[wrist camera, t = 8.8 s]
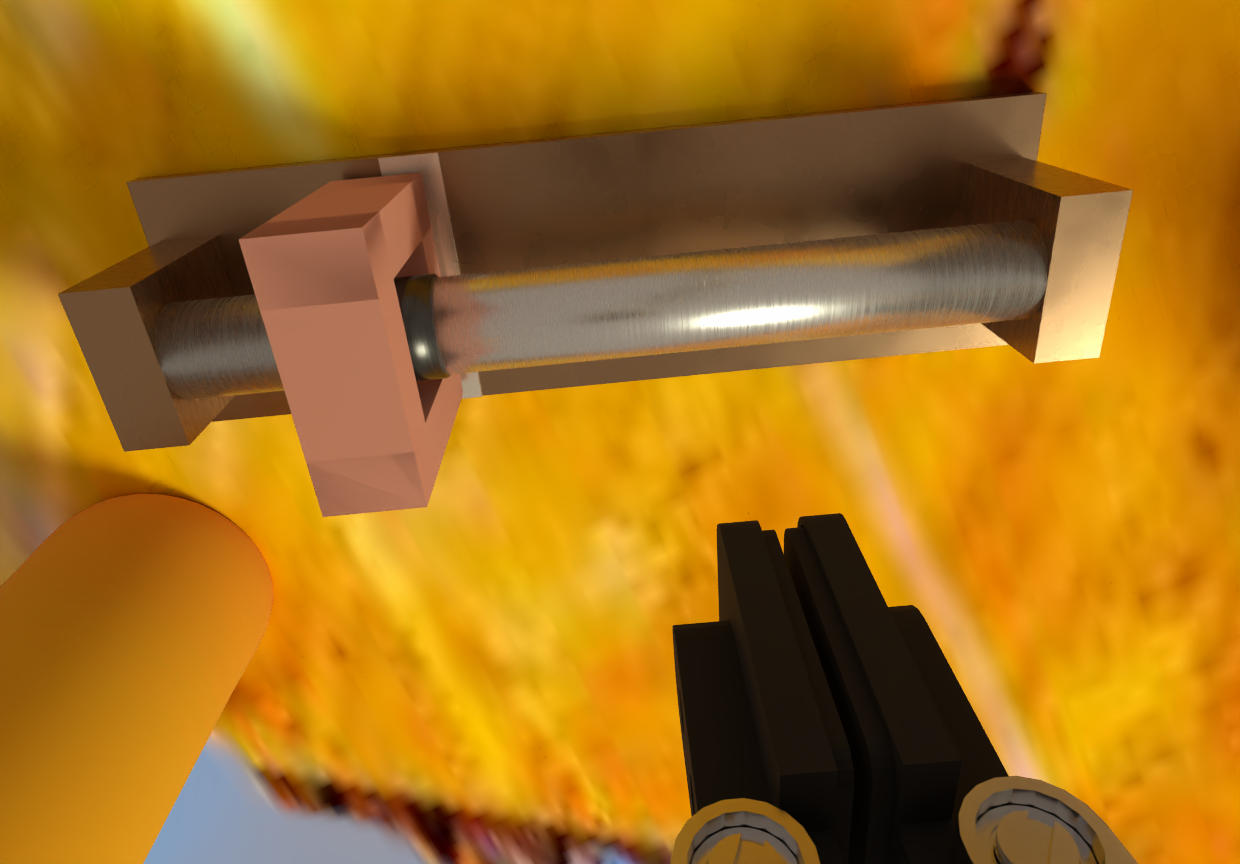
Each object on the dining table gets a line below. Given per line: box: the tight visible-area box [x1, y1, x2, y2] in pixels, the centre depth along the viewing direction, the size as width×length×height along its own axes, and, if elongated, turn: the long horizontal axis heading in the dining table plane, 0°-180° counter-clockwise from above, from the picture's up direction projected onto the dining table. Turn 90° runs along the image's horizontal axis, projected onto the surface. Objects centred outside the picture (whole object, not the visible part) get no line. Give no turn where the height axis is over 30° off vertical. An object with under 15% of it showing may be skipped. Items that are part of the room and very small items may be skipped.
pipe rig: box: [58, 92, 1133, 451], centre depth 26 cm, size 9×31×7 cm, turn 94°
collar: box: [238, 173, 463, 517], centre depth 25 cm, size 8×3×8 cm, turn 4°
